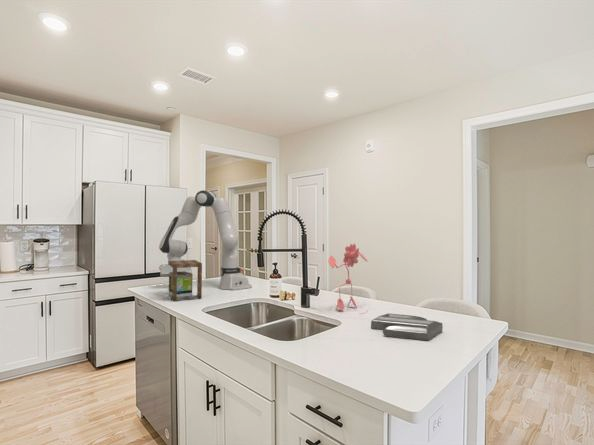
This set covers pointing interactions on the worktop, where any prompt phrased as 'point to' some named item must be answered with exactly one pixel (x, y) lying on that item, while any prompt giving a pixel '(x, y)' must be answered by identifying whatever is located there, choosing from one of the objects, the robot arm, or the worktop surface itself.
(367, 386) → the worktop surface
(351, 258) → the pink flower figurine
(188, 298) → the walnut shelf
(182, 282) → the tea box
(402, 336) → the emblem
